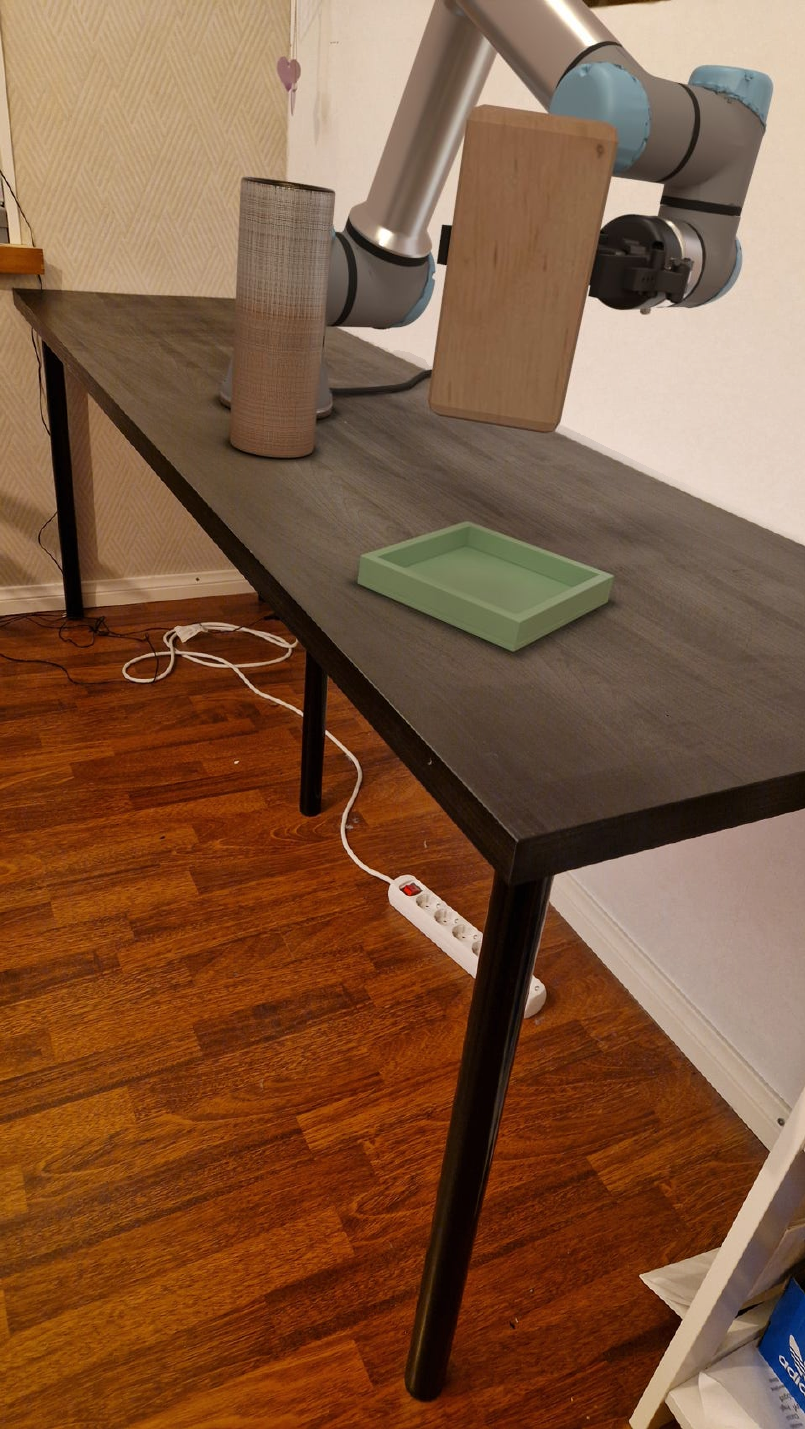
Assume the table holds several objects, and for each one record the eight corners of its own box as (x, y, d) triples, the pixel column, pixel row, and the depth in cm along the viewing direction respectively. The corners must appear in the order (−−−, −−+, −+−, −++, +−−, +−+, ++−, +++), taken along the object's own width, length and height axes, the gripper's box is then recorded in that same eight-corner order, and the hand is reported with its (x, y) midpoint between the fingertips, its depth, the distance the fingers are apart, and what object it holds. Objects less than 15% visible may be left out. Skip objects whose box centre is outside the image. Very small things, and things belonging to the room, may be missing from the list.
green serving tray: (462, 546, 94) (467, 520, 93) (607, 602, 86) (614, 575, 85) (356, 583, 82) (360, 555, 81) (513, 652, 75) (519, 622, 73)
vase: (212, 443, 113) (221, 174, 99) (264, 431, 121) (279, 179, 107) (279, 464, 109) (298, 188, 95) (329, 450, 117) (353, 192, 103)
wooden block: (557, 438, 71) (623, 124, 61) (424, 416, 72) (467, 101, 62) (557, 409, 80) (615, 129, 70) (438, 390, 80) (479, 109, 70)
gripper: (763, 337, 81) (657, 350, 66) (517, 283, 93) (379, 284, 78) (793, 239, 78) (688, 229, 62) (533, 196, 89) (391, 179, 74)
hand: (516, 260), depth 70 cm, fingers closed on wooden block, 13 cm apart
